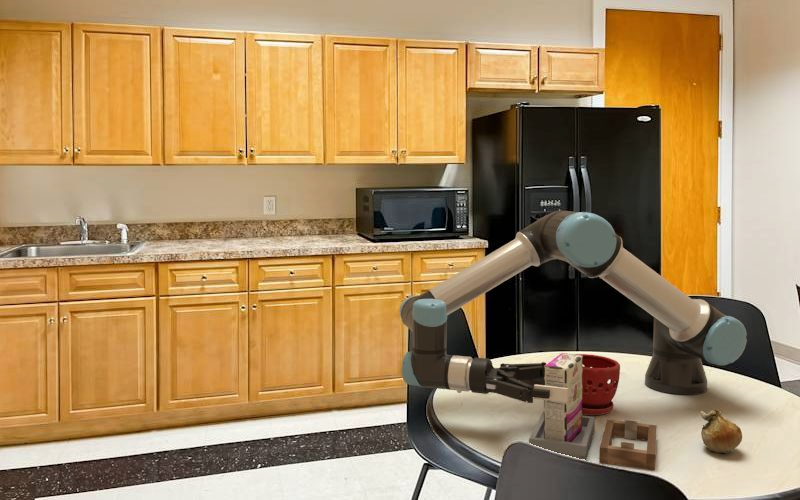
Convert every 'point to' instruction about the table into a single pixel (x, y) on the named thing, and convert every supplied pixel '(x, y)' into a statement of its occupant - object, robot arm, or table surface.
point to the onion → (720, 433)
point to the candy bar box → (564, 416)
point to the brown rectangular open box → (628, 444)
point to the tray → (573, 448)
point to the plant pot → (598, 384)
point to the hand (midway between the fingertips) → (572, 385)
